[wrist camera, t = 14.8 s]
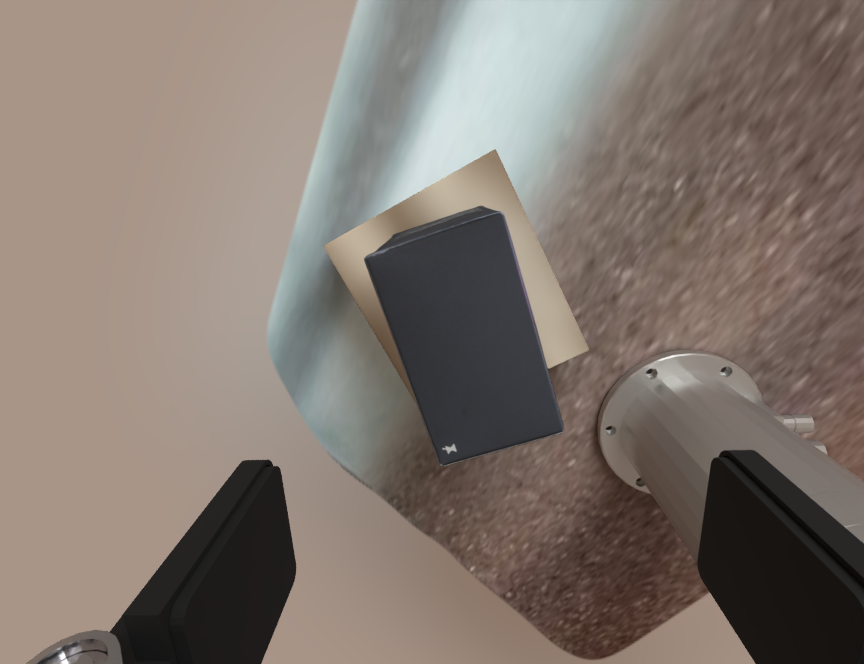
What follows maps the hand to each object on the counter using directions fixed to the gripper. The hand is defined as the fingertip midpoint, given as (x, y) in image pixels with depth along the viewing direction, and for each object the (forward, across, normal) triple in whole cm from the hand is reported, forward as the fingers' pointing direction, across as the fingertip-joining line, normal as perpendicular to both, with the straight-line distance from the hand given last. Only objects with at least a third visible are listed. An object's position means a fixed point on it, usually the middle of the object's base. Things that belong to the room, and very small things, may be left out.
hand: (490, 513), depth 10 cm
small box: (+21, 0, 0) cm, 21 cm away
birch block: (+27, 0, 0) cm, 27 cm away
